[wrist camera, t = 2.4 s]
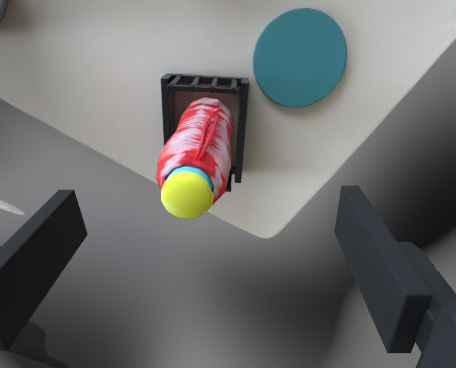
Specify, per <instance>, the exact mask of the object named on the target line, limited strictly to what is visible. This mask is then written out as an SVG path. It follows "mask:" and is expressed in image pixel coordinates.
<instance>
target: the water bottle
mask: <svg viewBox="0 0 456 368" xmlns="http://www.w3.org/2000/svg"><path fill="white" fill-rule="evenodd" d="M233 127H234V121H233V118H232V116H231V113H230V110H229V108H228V107H226V106H225V105H224V104H223V103H222V102H221V101H220V100H217V99H212V98H207V97H204V98H201V99H199V100H196V101H193V102H192V103H191V104H190V105H189V107H188V108H187V109H186V110H185V111H184V113H183V114H182V116H181V119H180V122H179V125H178V128H177V130H176V132H175V133H174V134H173V135H172V137H171V138H170V139H169V140H168V141H167V143H166V144H165V146H164V147H163V149H162V151H161V153H160V156H159V160H158V166H157V178H156V179H157V182H158V184H159V186H160V188H161V190H162V194H161V201H162V202H163V204H164V206H165V208H166V210H167V211H168V212H170V213H171V214H173V215H175V216H176V217H179V218H185V219H191V218H195V217H198V216H201V215H202V214H203V213H204V212H205V211H207V210H208V209H209V208H210V207H211V205H213V204H214V203H215V202H216V201H217V200H218V199H219V198H220V197H221V196H222V195H223V194H224V192H225V189H226V186H227V182H228V177H229V173H230V168H231V157H232V156H231V150H230V142H231V137H232V132H233Z"/></svg>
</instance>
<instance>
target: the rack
mask: <svg viewBox="0 0 456 368" xmlns="http://www.w3.org/2000/svg"><path fill="white" fill-rule="evenodd" d="M180 82H181V83H191V85H190V86H187V85H179V83H180ZM199 84H211V85H210V87H204V86H198V85H199ZM218 85H231V87H230V88H222V87H217V86H218ZM237 86H241V90H240V105H239V120H238V135H237V150H236V164H235V167H233V166H231V168H230V173H229V177H228V182H227V186H226V189H225V191H228V192H231V177H232V174H235V183H241V176H242V163H243V151H244V138H245V125H246V113H247V100H248V87H249V82H248V78H235V77H218V76H201V75H183V74H166V75H164V76H163V77H162V78H161V93H162V113H163V133H164V146H165V144H166V143H167V141H168V140H169V139H170V138H171V137H172V135H173V134H174V133H175V111H174V90H177V91H191V92H194V91H195V92H211V93H229V94H237V90H238V89H237Z"/></svg>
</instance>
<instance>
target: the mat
mask: <svg viewBox="0 0 456 368" xmlns="http://www.w3.org/2000/svg"><path fill="white" fill-rule="evenodd" d="M346 55H347V49H346V42H345V38H344V35H343V33H342V31H341V29H340V27H339V26H338V25H337V23H336V22H335V21H334V20H333V19H332V18H331V17H330V16H328V15H327V14H325V13H323V12H321V11H318V10H315V9H309V8H300V9H294V10H291V11H287V12H285V13H283V14H281V15H280V16H278V17H276V18H275V19H274V20H273V21H271V22H270V23H269V24H268V26H267V27H266V28H265V29H264V31H263V32H262V33H261V35H260V37H259V39H258V41H257V44H256V47H255V50H254V56H253V68H254V74H255V78H256V80H257V83H258V85H259V87H260V88H261V90H262V91H263V92H264V93H265V94H266V95H267V97H269V98H270V99H271V100H273V101H275V102H276V103H279V104H281V105H284V106H289V107H301V106H306V105H310V104H312V103H315V102H317V101H319V100H320V99H322V98H323V97H325V96H326V95H327V94H328V93H329V92H330V91H331V90H332V89H333V88H334V87H335V85H336V84H337V83H338V81H339V79H340V77H341V75H342V73H343V71H344V67H345V63H346Z"/></svg>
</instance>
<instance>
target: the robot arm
mask: <svg viewBox="0 0 456 368" xmlns="http://www.w3.org/2000/svg"><path fill="white" fill-rule="evenodd" d="M6 6H7V0H0V20H1V18H2V16H3V15H4V12H5V9H6ZM334 232H335V235H336V237H337V239H338V242H339V244H340V246H341V248H342V251H343V253H344V255H345V257H346V260H347V262H348V264H349V266H350V269H351V271H352V273H353V276H354V278H355V280H356V282H357V285H358V287H359V289H360V292H361V294H362V296H363V299H364V301H365V303H366V305H367V307H368V310H369V312H370V314H371V316H372V319H373V321H374V323H375V326H376V328H377V330H378V332H379V335H380V337H381V339H382V342H383V344H384V346H385V348H386V351H387V353H411V351H412V349H413V346H414V343H415V342H416V344H417V346H418V347H419V349H420V351H421V353H422V354H421V357H420V359H419V361H418V363H417V366H416V368H456V294H455V292H454V291H453V290H452V288H451V287H450V286H449V285H448V283H447V282H446V281H445V279H444V278H443V277H442V276H441V274H440V273H439V272H438V271H436V268H435V267H434V265H433V264H432V263H430V260H429V259H428V258H427V256H426V255H425V254H424V252H423V251H422V250H421V249H419V248H418V247H416V246H415V245H414V244H412V243H411V242H397V241H396V240H395V238H394V237H393V235H392V234H391V233H390V231H389V230H388V228H387V227H386V225H385V224H384V223H383V221H382V220H381V218H380V217H379V215H378V214H377V212H376V211H375V209H374V208H373V207H372V205H371V204H370V202H369V201H368V200H367V198H366V197H365V195H364V194H363V192H362V191H361V189H360V188H359V186H342V187H341V193H340V200H339V206H338V213H337V219H336V225H335V231H334ZM86 236H87V231H86V228H85V224H84V221H83V218H82V214H81V211H80V208H79V205H78V201H77V198H76V195H75V191H74V190H58V191H57V192H56V193H55V195H53V196H52V197H51V198H50V199H49V200H48V201H47V202H46V203H45V204H44V205H43V206H42V207H41V208H40V209H39V210H38V211H37V212H36V213H35V214H34V215H33V216H32V217H31V218H30V219H29V220H28V221H27V222H26V223H25V224H24V225H23V226H22V227H21V228H20V229H19V230H18V231H17V232H16V233H15V234H14V235H13V236H12V237H11V238H10V239H9V240H8V241H7V242H5V244H3V245H2V246H0V350H9V349H10V347H11V346H12V344H13V343H14V341H15V340H16V338H17V337H18V335H19V334H20V332H21V331H22V330H23V328H24V327H25V325H26V324H27V322H28V321H29V319H30V317H31V316H32V315H33V313H34V312H35V311H36V309H37V308H38V306H39V305H40V303H41V302H42V300H43V299H44V297H45V296H46V294H47V293H48V291H49V290H50V288H51V287H52V286H53V284H54V283H55V281H56V280H57V278H58V277H59V275H60V274H61V272H62V271H63V270H64V268H65V267H66V265H67V264H68V262H69V261H70V259H71V258H72V256H73V255H74V253H75V252H76V250H77V249H78V248H79V246H80V245H81V243H82V242H83V240H84V239H85V237H86Z"/></svg>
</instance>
